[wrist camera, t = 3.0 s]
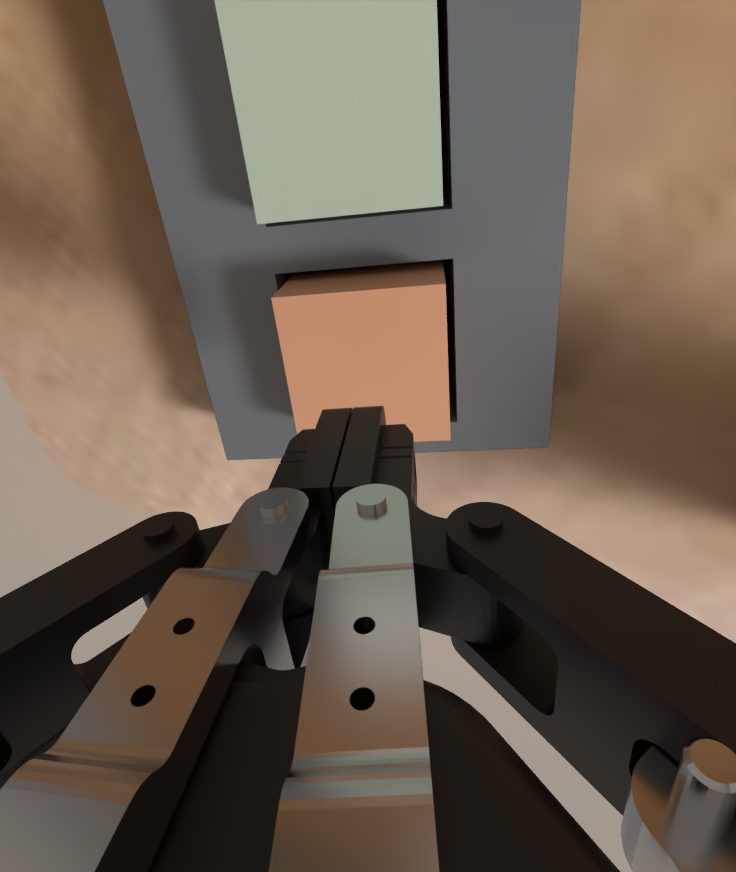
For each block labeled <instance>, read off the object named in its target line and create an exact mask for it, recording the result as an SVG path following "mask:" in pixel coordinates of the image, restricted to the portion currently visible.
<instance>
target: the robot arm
mask: <svg viewBox="0 0 736 872" xmlns="http://www.w3.org/2000/svg"><path fill="white" fill-rule="evenodd" d="M142 597H143V599H144V601H145V604H146V606H147V611H146V612H145V614H144V615H143V617H142V618H141V620H140V621H139V623H138V624H137V625H136V627H135V628H134V630H133V631H132V632H131V633H130V634H128V635H127V636H125V637H124V638H122V639H121V640H119V641H118V642H116V643H115V644H113V645H112V646H110V647H109V648H107V649H106V650H104V651H103V652H102V653H100V654H98V655H97V656H95V657H94V658H92V659H91V660H89V661H87V662H85V663H82V664H73V662H72V660H71V652H72V649H73V647H74V645H75V643H76V642H77V641H78V639H79V638H80V637H81V636H82V635H83V634H85V633H86V632H88V631H89V630H91V629H93V628H94V627H96V626H97V625H99V624H101V623H102V622H104V621H105V620H107V619H109V618H110V617H112V616H113V615H115V614H116V613H118V612H120V611H121V610H123V609H124V608H126V607H127V606H129V605H131V604H132V603H134V602H135V601H137V600H138V599H140V598H142ZM419 627H421V628H424V629H428V630H431V631H435V632H438V633H442V634H445V635H449V636H451V641H452V644H453V646H454V648H455V650H456V651H457V652H458V653H459V654H460V655H461V656H462V657H463V658H464V659H465V660H466V661H467V662H468V663H469V664H470V665H471V666H472V667H473V668H474V669H475V670H476V671H477V672H478V673H479V674H480V675H481V676H482V677H483V678H484V679H485V680H486V681H487V682H488V683H489V684H490V685H491V686H492V687H493V688H494V689H495V690H496V691H497V692H498V693H499V694H500V695H501V696H502V697H503V698H504V699H505V700H506V701H507V702H508V703H509V704H510V705H511V706H512V707H513V708H514V709H515V710H516V711H517V712H518V713H519V714H520V715H521V716H522V717H523V718H524V719H525V720H526V721H527V722H528V723H529V724H530V725H532V727H533V728H534V729H536V731H538V732H539V733H540V734H541V735H542V736H543V737H544V738H545V739H546V740H547V741H548V742H549V743H550V744H551V745H552V746H553V747H554V748H555V749H556V750H557V751H558V752H559V753H560V754H561V755H562V756H563V757H564V758H565V759H566V760H567V761H568V762H569V763H570V764H571V765H572V766H573V767H574V768H575V769H576V770H577V771H578V772H579V773H580V774H581V775H582V776H583V777H584V778H585V779H586V780H587V781H588V782H589V783H590V784H591V785H592V786H593V787H594V788H595V789H596V790H597V791H598V792H599V793H600V794H601V795H602V796H603V797H604V798H605V799H606V800H607V801H608V802H609V803H610V804H612V806H613V807H615V808H616V809H617V810H618V811H619V812H620V813H621V814H622V815H623V821H622V825H621V838H622V845H623V849H624V852H625V856H626V858H627V861H628V863H629V865H630V867H631V869H632V871H633V872H736V643H734V642H732V641H731V640H729V639H727V638H726V637H724V636H723V635H721V634H719V633H718V632H716V631H714V630H713V629H711V628H709V627H708V626H706V625H704V624H703V623H701V622H699V621H698V620H696V619H694V618H693V617H691V616H689V615H688V614H686V613H684V612H683V611H681V610H679V609H678V608H676V607H675V606H673V605H671V604H670V603H668V602H666V601H665V600H663V599H661V598H660V597H658V596H656V595H655V594H653V593H651V592H650V591H648V590H646V589H645V588H643V587H641V586H640V585H638V584H636V583H635V582H633V581H631V580H630V579H628V578H626V577H625V576H623V575H622V574H620V573H618V572H617V571H615V570H613V569H612V568H610V567H608V566H607V565H605V564H603V563H602V562H600V561H598V560H597V559H595V558H593V557H592V556H590V555H588V554H587V553H585V552H583V551H582V550H580V549H578V548H577V547H575V546H574V545H572V544H570V543H569V542H567V541H565V540H564V539H562V538H560V537H559V536H557V535H555V534H554V533H552V532H550V531H549V530H547V529H545V528H544V527H542V526H540V525H539V524H537V523H535V522H534V521H532V520H530V519H529V518H527V517H526V516H524V515H522V514H521V513H519V512H517V511H516V510H514V509H512V508H510V507H508V506H505V505H502V504H498V503H492V502H476V503H471V504H467V505H464V506H462V507H459V508H458V509H456V510H454V511H453V512H452V513H451V514H450V515H449V517H448V518H447V519H446V518H440V517H436V516H433V515H430V514H428V513H426V512H424V511H422V510H421V509H419V508H418V507H417V477H416V464H415V451H414V438H413V433H412V432H411V431H410V429H409V428H408V427H407V426H406V425H405V424H394V425H386V418H385V411H384V406H369V407H354V408H337V409H323V410H322V412H321V415H320V417H319V420H318V422H317V425H316V428H315V429H303V430H302V431H301V432H299V433H298V434H297V435H296V436H295V437H293V438H292V439H291V440H290V442H289V444H288V446H287V448H286V451H285V454H284V455H283V457H282V459H281V464H279V466H278V468H277V471H276V473H275V475H274V477H273V480H272V482H271V484H270V486H269V488H268V490H265V491H262V492H260V493H257V494H255V495H253V496H252V497H250V498H249V499H247V500H246V501H245V502H244V503H243V504H242V506H241V507H240V509H239V510H238V512H237V513H236V515H235V517H234V518H233V520H232V522H231V523H228V524H224V525H220V526H216V527H212V528H208V529H204V530H199V527H198V524H197V521H196V519H195V518H194V517H193V516H192V515H190V514H188V513H185V512H167V513H162V514H158V515H155V516H152V517H150V518H148V519H146V520H144V521H142V522H140V523H138V524H136V525H134V526H133V527H131V528H129V529H127V530H125V531H123V532H121V533H119V534H118V535H116V536H114V537H112V538H110V539H108V540H106V541H105V542H103V543H101V544H99V545H97V546H95V547H94V548H92V549H90V550H88V551H86V552H84V553H82V554H81V555H79V556H77V557H75V558H73V559H71V560H69V561H68V562H66V563H64V564H62V565H61V566H58V567H56V568H55V569H53V570H51V571H49V572H47V573H45V574H43V575H42V576H40V577H38V578H36V579H34V580H32V581H31V582H29V583H27V584H25V585H23V586H21V587H19V588H18V589H16V590H14V591H12V592H10V593H8V594H6V595H5V596H3V597H1V598H0V872H620V871H619V870H618V869H617V867H616V866H615V865H614V864H613V863H612V862H611V861H610V859H609V858H608V857H607V856H606V855H605V854H604V853H603V851H602V850H601V849H600V848H599V847H598V846H597V845H596V843H595V842H594V841H593V840H592V839H591V838H590V837H589V835H588V834H587V833H586V832H585V831H584V830H583V829H582V827H581V826H580V825H579V824H578V823H577V822H576V821H575V819H574V818H573V817H572V816H571V815H570V814H569V813H568V812H567V810H566V809H565V808H564V807H563V806H562V805H561V804H560V802H559V801H558V800H557V799H556V798H555V797H554V796H553V794H552V793H551V792H550V791H549V790H548V789H547V788H546V786H545V785H544V784H543V783H542V782H541V781H540V780H539V778H538V777H537V776H536V775H535V774H534V773H533V772H532V770H531V769H530V768H529V767H528V766H527V765H526V764H525V762H524V761H523V760H522V759H521V758H520V757H519V756H518V754H517V753H516V752H515V751H514V750H513V749H512V748H511V747H510V745H509V744H508V743H507V742H506V741H505V740H504V739H503V737H502V736H501V735H500V734H499V733H498V732H497V731H496V729H494V727H493V726H492V725H491V724H490V723H489V722H488V721H487V720H486V718H485V717H484V716H482V715H481V714H480V713H479V712H478V711H477V710H476V709H475V708H473V707H472V706H471V705H470V704H468V703H467V702H465V701H464V700H463V699H461V698H460V697H458V696H457V695H455V694H454V693H452V692H450V691H448V690H446V689H444V688H442V687H440V686H438V685H435V684H433V683H430V682H427V681H425V680H423V669H422V658H421V646H420V635H419Z"/></svg>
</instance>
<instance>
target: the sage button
mask: <svg viewBox="0 0 736 872" xmlns="http://www.w3.org/2000/svg"><path fill="white" fill-rule="evenodd" d="M214 1H215V6H216V11H217V17H218V22H219V27H220V32H221V38H222V43H223V48H224V53H225V59H226V64H227V69H228V74H229V80H230V85H231V90H232V95H233V101H234V106H235V111H236V116H237V122H238V127H239V132H240V137H241V142H242V148H243V153H244V158H245V163H246V169H247V174H248V179H249V184H250V190H251V195H252V200H253V205H254V211H255V216H256V221H257V224H266V223H276V222H286V221H296V220H306V219H316V218H326V217H336V216H346V215H356V214H366V213H376V212H386V211H396V210H407V209H417V208H427V207H437V206H443V180H442V148H441V116H440V85H439V53H438V21H437V0H214Z"/></svg>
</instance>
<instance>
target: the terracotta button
mask: <svg viewBox="0 0 736 872" xmlns="http://www.w3.org/2000/svg"><path fill="white" fill-rule="evenodd" d="M271 300H272V305H273V310H274V315H275V321H276V326H277V331H278V336H279V342H280V347H281V352H282V357H283V363H284V368H285V373H286V378H287V383H288V389H289V394H290V399H291V404H292V410H293V415H294V420H295V425H296V431H297V434H298V433H299V432H301V431H302V430H303V429H315V428H316V425H317V422H318V420H319V417H320V415H321V412H322V410H323V409H337V408H354V407H369V406H384V411H385V418H386V425H394V424H405V425H406V426H407V427H408V428H409V429H410V431H411V432H412V433H413V438H414V442H422V441H446V440H451V435H450V403H449V372H448V340H447V308H446V282H445V275H444V268H443V260H439V261H427V262H416V263H404V264H393V265H381V266H369V267H358V268H346V269H335V270H323V271H311V272H300V273H294V274H293V275H292V276H291V277H290V278H289V279H288V281H287V282H286V283H285V284H284V285H283V286H282V287H281V288H280V289H279V290H278V291H277V292H276V293H275V294H274V295H273V296H272V297H271Z"/></svg>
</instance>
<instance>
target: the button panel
mask: <svg viewBox="0 0 736 872" xmlns="http://www.w3.org/2000/svg"><path fill="white" fill-rule="evenodd" d="M103 4H104V7H105V11H106V15H107V18H108V22H109V26H110V29H111V33H112V37H113V40H114V44H115V48H116V52H117V55H118V59H119V63H120V66H121V70H122V74H123V77H124V81H125V85H126V88H127V92H128V96H129V99H130V103H131V107H132V111H133V114H134V118H135V122H136V125H137V129H138V133H139V136H140V140H141V144H142V147H143V151H144V155H145V159H146V162H147V166H148V170H149V173H150V177H151V181H152V184H153V188H154V192H155V195H156V199H157V203H158V207H159V210H160V214H161V218H162V221H163V225H164V229H165V232H166V236H167V240H168V243H169V247H170V251H171V254H172V258H173V262H174V266H175V269H176V273H177V277H178V280H179V284H180V288H181V291H182V295H183V299H184V302H185V306H186V310H187V314H188V317H189V321H190V325H191V328H192V332H193V336H194V339H195V343H196V347H197V350H198V354H199V358H200V362H201V365H202V369H203V373H204V376H205V380H206V384H207V387H208V391H209V395H210V398H211V402H212V406H213V410H214V413H215V417H216V421H217V424H218V428H219V432H220V435H221V439H222V443H223V446H224V450H225V454H226V457H227V460H243V459H268V458H282V457H283V455H284V454H285V451H286V448H287V446H288V444H289V442H290V440H291V439H292V438H293V437H295V436H296V435H297V431H296V425H295V420H294V415H293V410H292V404H291V399H290V394H289V389H288V383H287V378H286V373H285V368H284V363H283V357H282V352H281V347H280V342H279V336H278V331H277V326H276V321H275V315H274V310H273V305H272V300H271V297H272V296H273V295H274V294H275V293H276V292H277V291H278V290H279V289H280V288H281V287H282V286H283V285H284V284H285V283H286V282H287V281H288V279H289V278H290V277H291V276H292V275H293V274H294V273H297V272H304V271H315V270H327V269H339V268H350V267H362V266H373V265H385V264H396V263H408V262H420V261H431V260H443V259H450V279H451V316H452V353H453V387H449V403H450V435H451V440H446V441H422V442H414V451H415V453H420V452H446V451H471V450H496V449H522V448H547V447H549V440H550V426H551V412H552V398H553V384H554V370H555V356H556V342H557V329H558V315H559V301H560V287H561V273H562V259H563V245H564V231H565V218H566V204H567V190H568V176H569V162H570V148H571V134H572V121H573V107H574V93H575V79H576V65H577V51H578V37H579V23H580V10H581V0H443V20H444V57H445V94H446V131H447V168H448V198H445V199H443V206H437V207H427V208H417V209H407V210H396V211H386V212H376V213H366V214H356V215H346V216H336V217H326V218H316V219H306V220H296V221H286V222H276V223H266V224H257V221H256V216H255V211H254V205H253V200H252V195H251V190H250V184H249V179H248V174H247V169H246V163H245V158H244V153H243V148H242V142H241V137H240V132H239V127H238V122H237V116H236V111H235V106H234V101H233V95H232V90H231V85H230V80H229V74H228V69H227V64H226V59H225V53H224V48H223V43H222V38H221V32H220V27H219V22H218V17H217V11H216V6H215V1H214V0H103Z"/></svg>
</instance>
